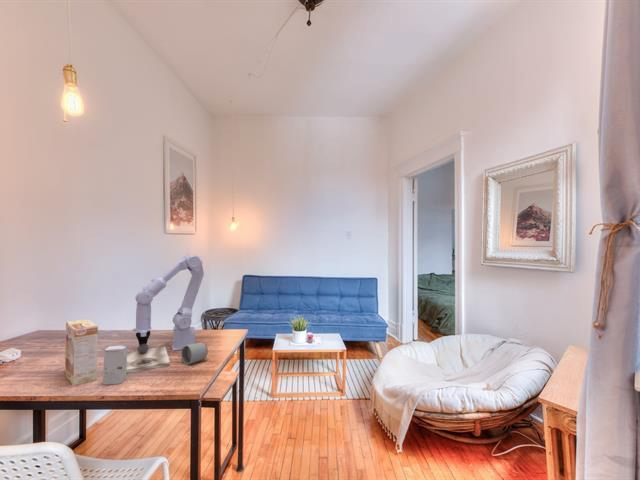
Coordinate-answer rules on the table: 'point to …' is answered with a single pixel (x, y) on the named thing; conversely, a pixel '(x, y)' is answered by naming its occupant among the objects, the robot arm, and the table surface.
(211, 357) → the table surface
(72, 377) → the coffeecake box
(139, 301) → the robot arm
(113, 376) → the skincare box
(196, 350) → the ceramic mug
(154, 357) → the board
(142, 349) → the ball
